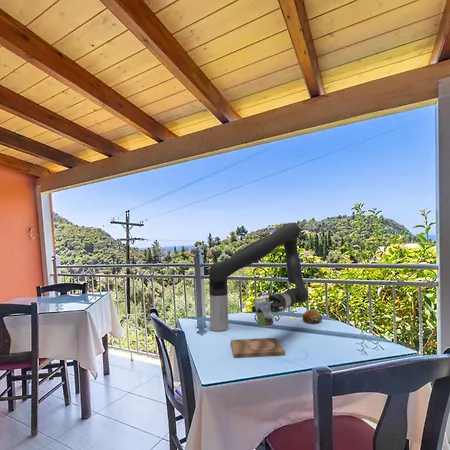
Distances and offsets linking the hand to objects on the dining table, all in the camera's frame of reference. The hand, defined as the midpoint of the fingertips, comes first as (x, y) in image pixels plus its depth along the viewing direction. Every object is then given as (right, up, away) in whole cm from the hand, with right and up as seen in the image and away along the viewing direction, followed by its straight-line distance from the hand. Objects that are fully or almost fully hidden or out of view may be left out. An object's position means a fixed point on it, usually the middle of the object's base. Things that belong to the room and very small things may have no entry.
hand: (256, 310), depth 124 cm
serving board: (0, -17, +2) cm, 17 cm away
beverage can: (+3, -7, 0) cm, 7 cm away
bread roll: (+34, -17, +40) cm, 55 cm away
